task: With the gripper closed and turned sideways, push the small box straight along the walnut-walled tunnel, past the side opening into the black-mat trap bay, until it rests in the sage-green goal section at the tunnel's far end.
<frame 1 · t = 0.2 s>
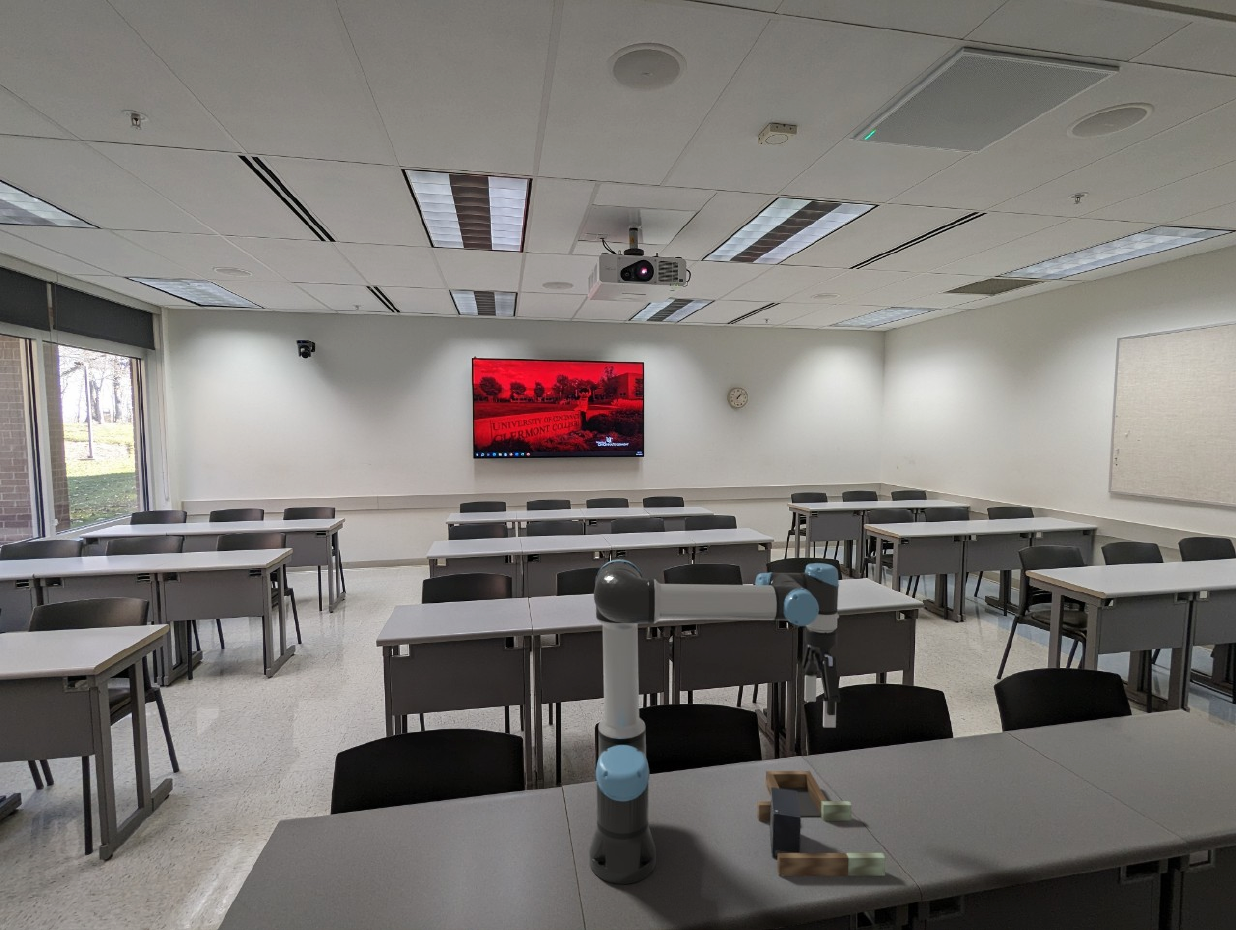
hand: (819, 713, 146), 27 cm above the table, fingers open, 13 cm apart
tunnel: (816, 844, 139), on the table
small box: (784, 845, 139), on the table
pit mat: (796, 802, 155), resting in tunnel
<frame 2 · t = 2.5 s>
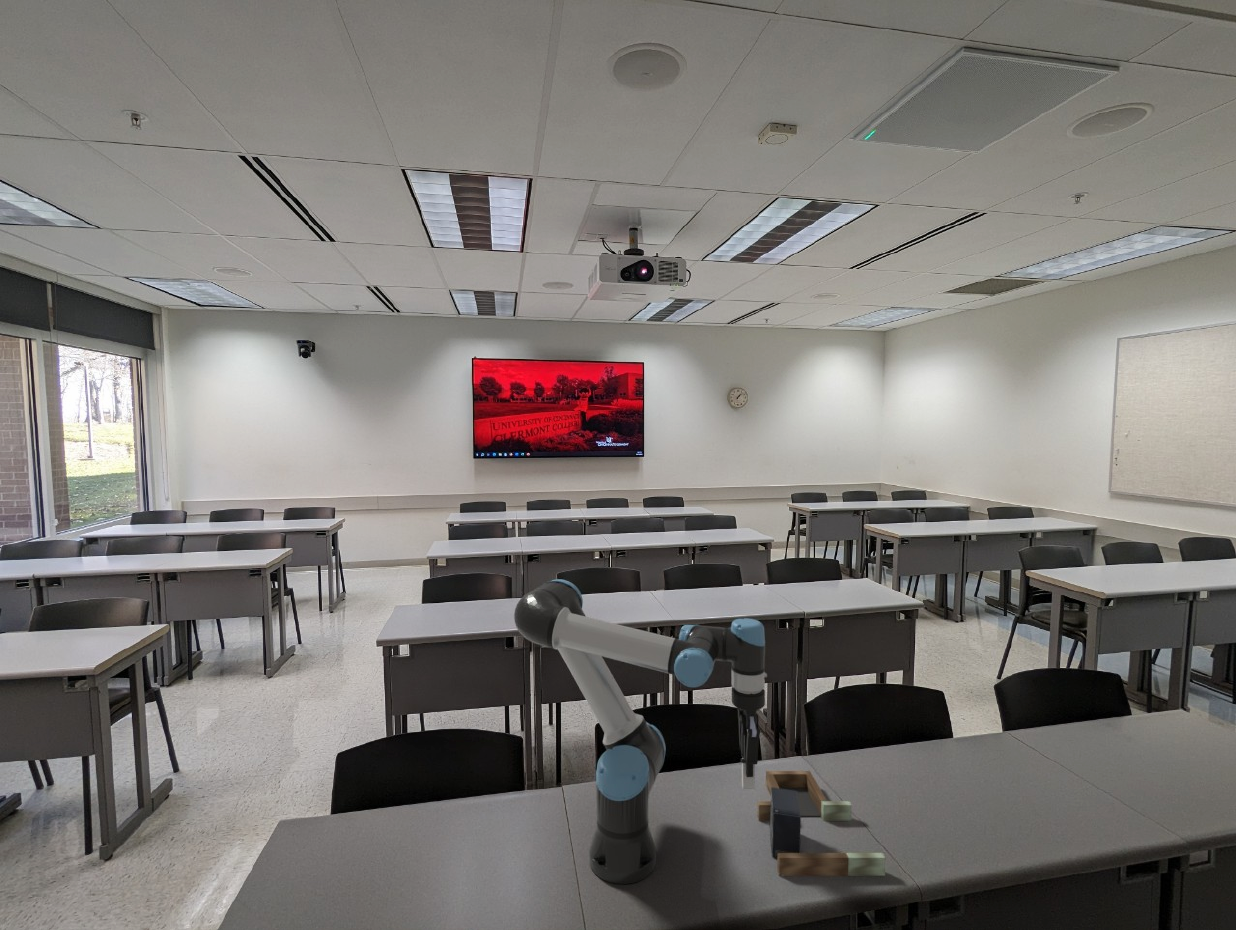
hand: (748, 787, 138), 14 cm above the table, fingers closed
nothing on the table moved.
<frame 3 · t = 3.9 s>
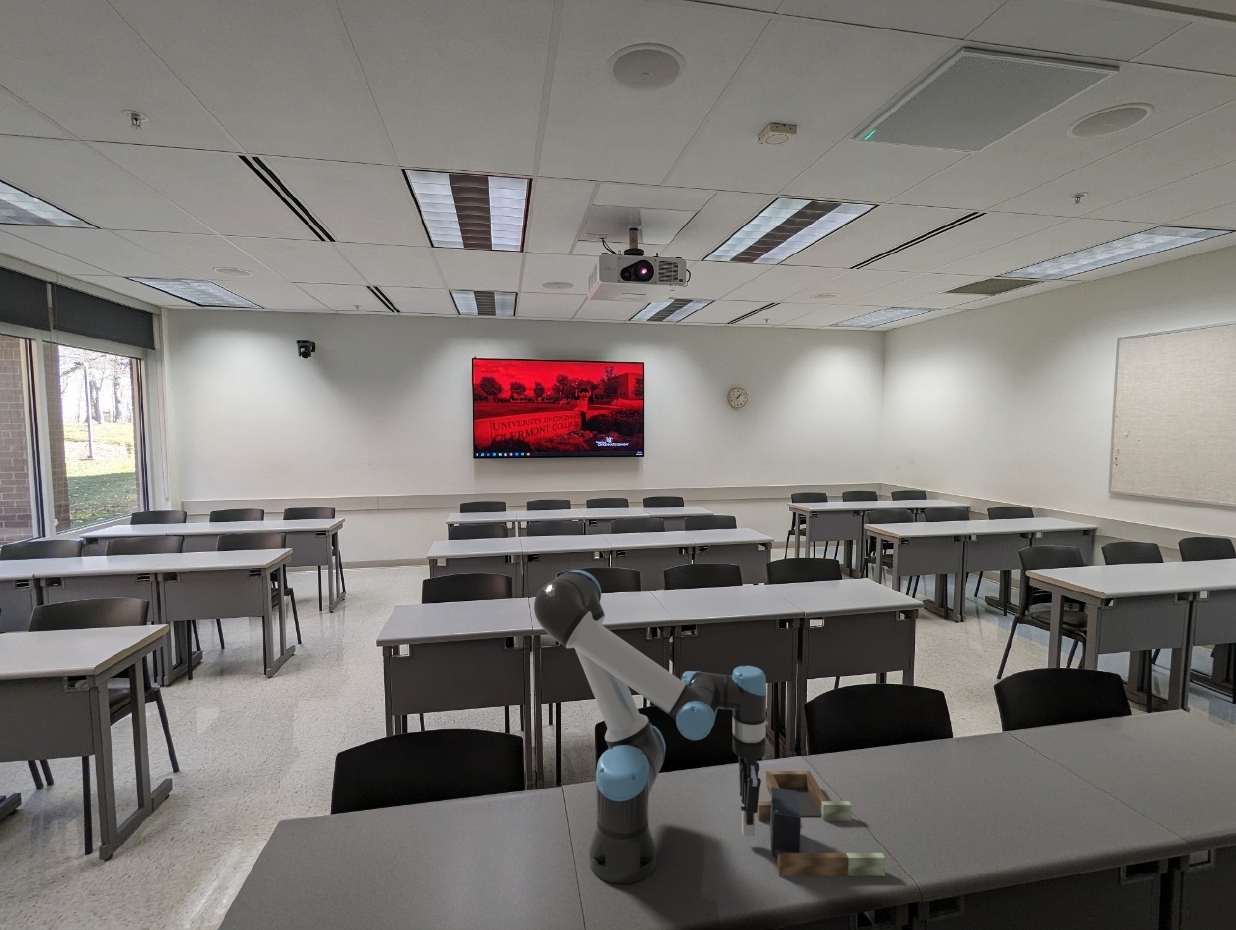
hand: (748, 834, 139), 2 cm above the table, fingers closed
nothing on the table moved.
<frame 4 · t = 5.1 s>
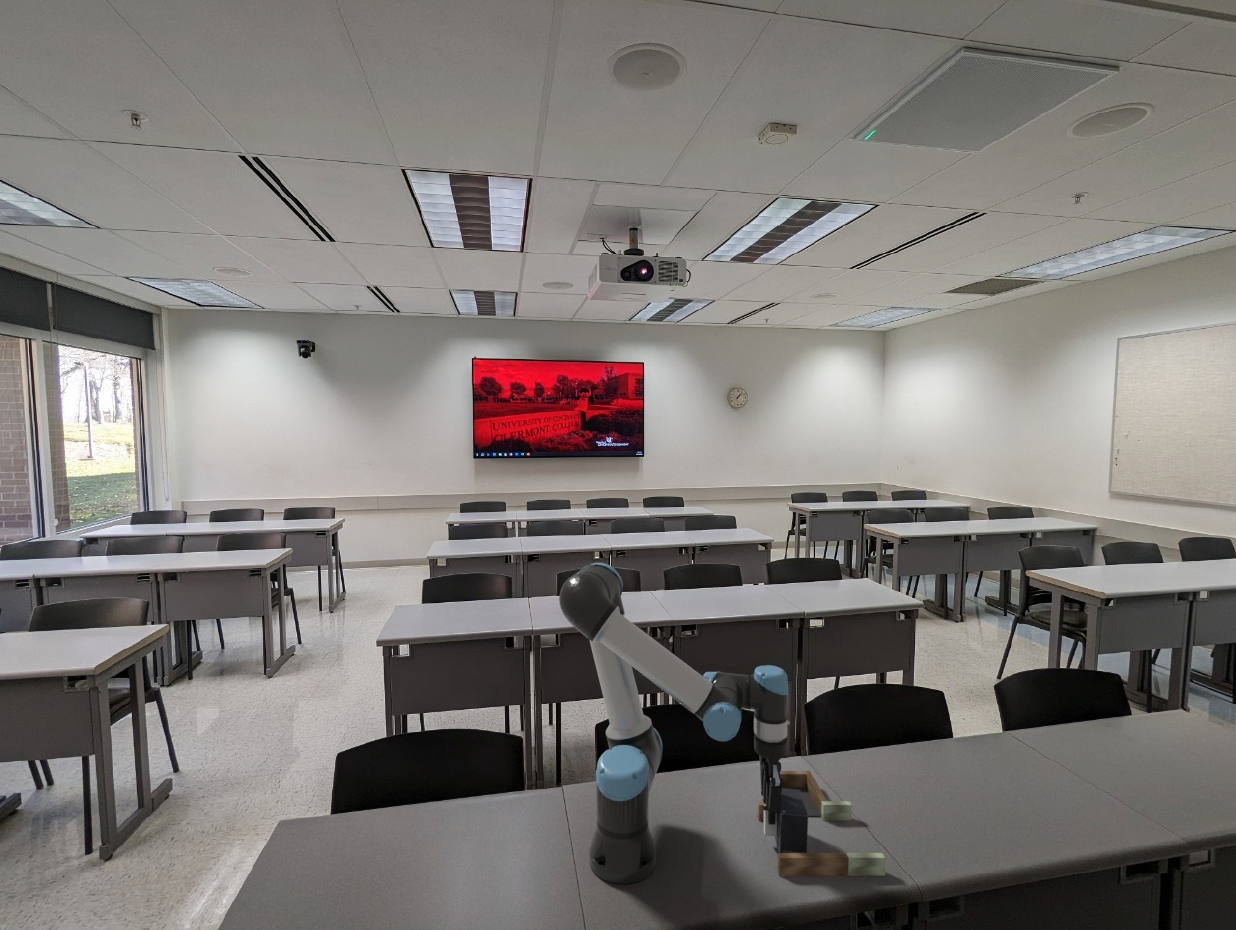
hand: (770, 833, 139), 3 cm above the table, fingers closed
small box: (790, 845, 139), on the table, touching gripper, hand
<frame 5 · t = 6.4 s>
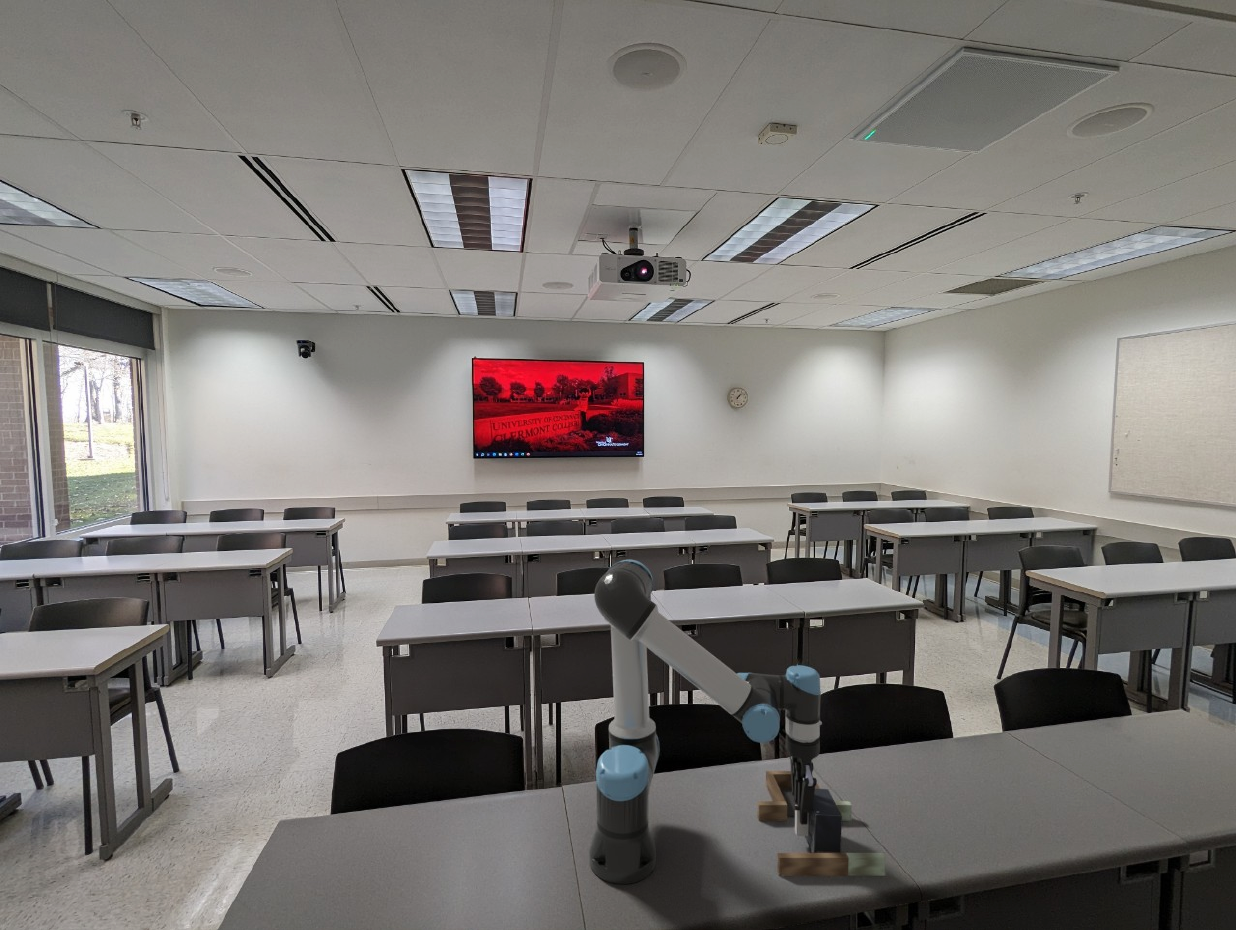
hand: (801, 833, 139), 3 cm above the table, fingers closed
small box: (821, 845, 139), on the table, touching gripper
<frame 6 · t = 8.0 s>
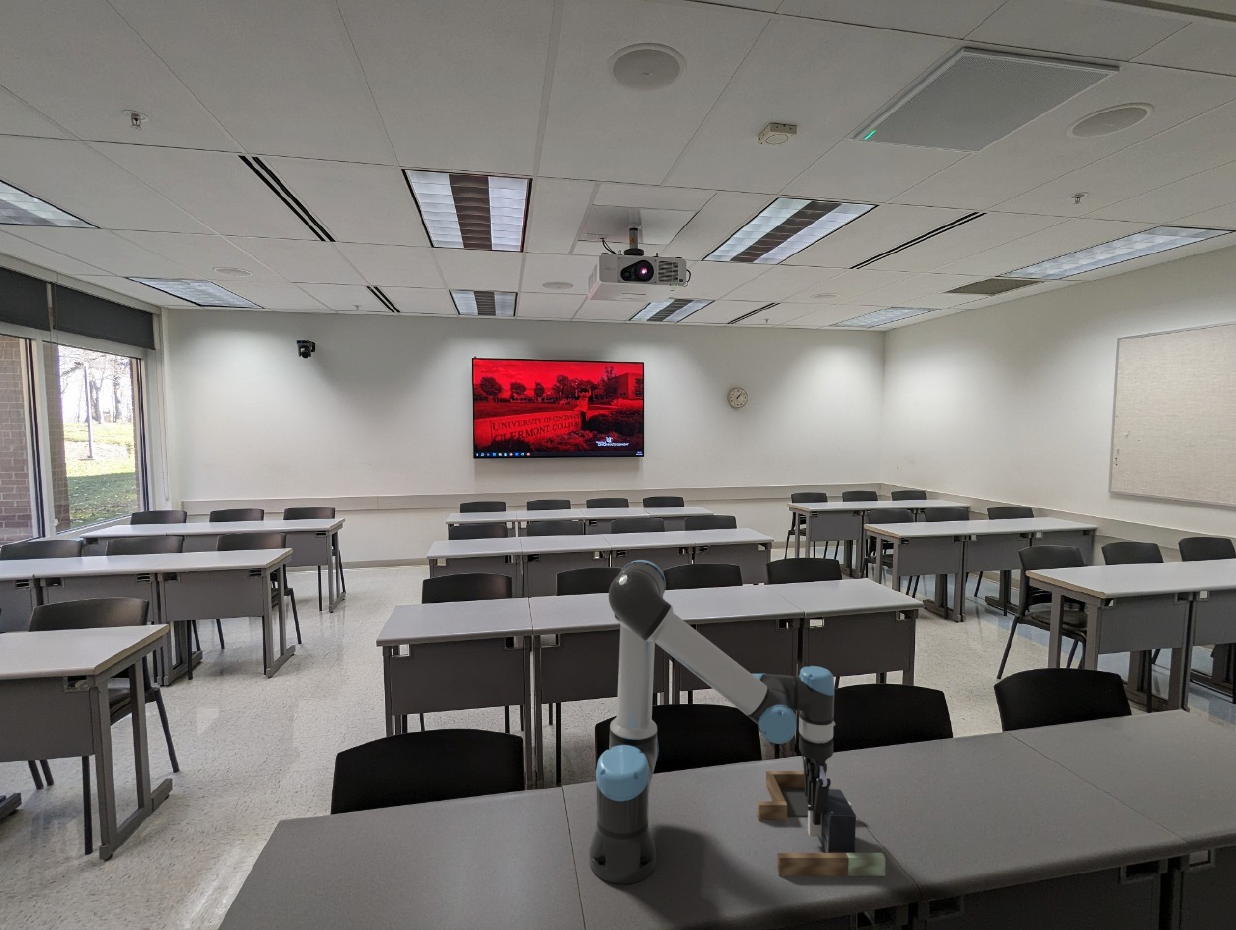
hand: (814, 834, 139), 2 cm above the table, fingers closed
small box: (834, 845, 139), on the table
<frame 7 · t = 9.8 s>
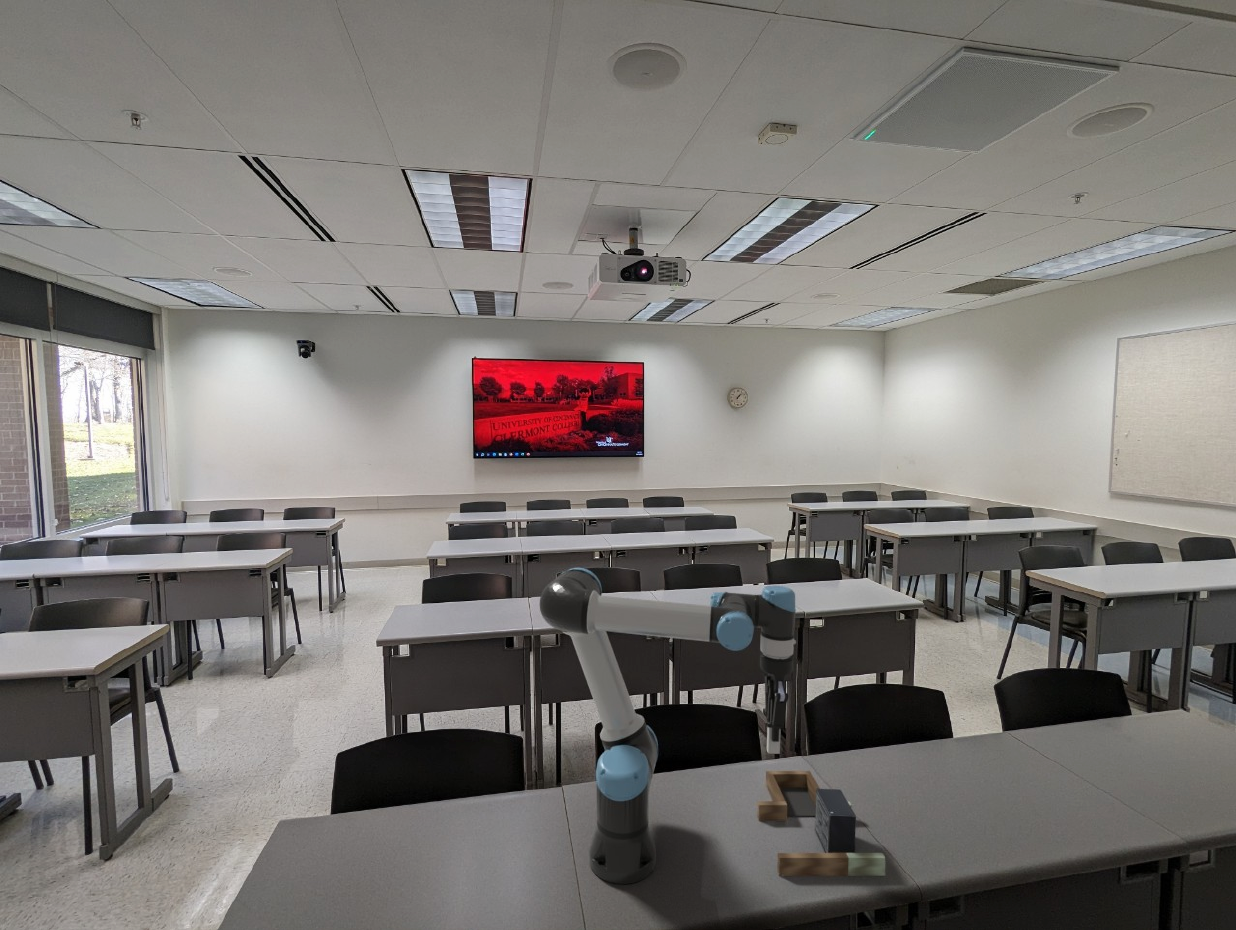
hand: (773, 751, 140), 21 cm above the table, fingers closed
nothing on the table moved.
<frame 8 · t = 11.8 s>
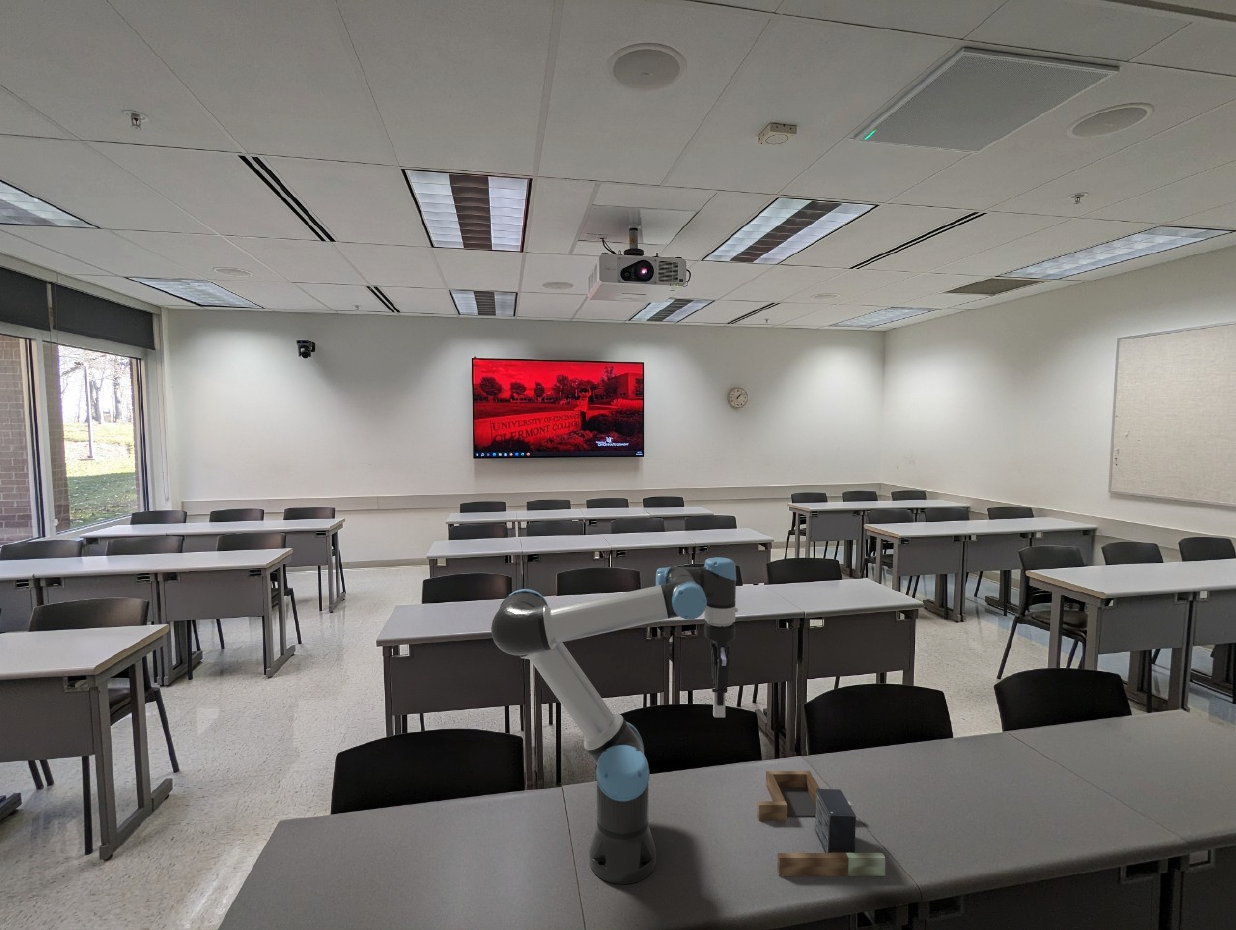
hand: (719, 715, 147), 26 cm above the table, fingers closed
nothing on the table moved.
at the end: small box inside the target area (2.3 cm from its centre), on the table; small box tilted 0° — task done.
